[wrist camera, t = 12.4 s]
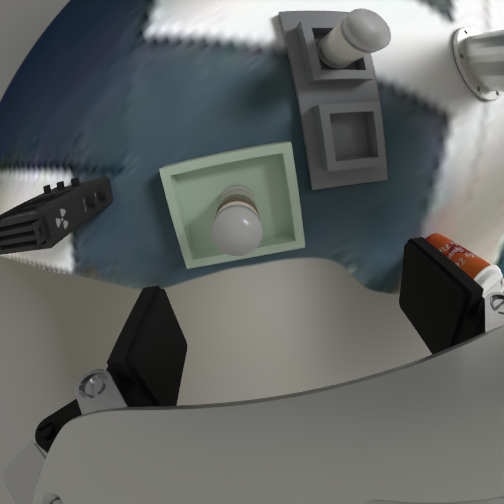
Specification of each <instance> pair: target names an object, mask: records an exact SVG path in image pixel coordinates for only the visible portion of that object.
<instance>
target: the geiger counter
mask: <svg viewBox="0 0 504 504" xmlns="http://www.w3.org/2000/svg"><path fill="white" fill-rule="evenodd" d="M71 183H72V185H70V186H66V187H64V182H63V181H62V182H58V183H57V187H56V188H54V189H51V188H50V185H47V186H44V187H43V188H44V193H43V194H41V195H38V196H36V197H34V198H32V199H30V200H28V201H26V202H24V203H22V204H20V205H18V206H16V207H14V208H12V209H11V210H9V211H7V212H5V213H3V214H1V215H0V255H1V254H8V253H16V252H23V251H31V250H39V249H47V248H52V247H53V246H54V245H56V244H57V243H58V242H59V241H61V240H62V239H63V238H64V237H66V236H67V235H68V234H70V233H71V232H72V231H73V230H75V229H76V228H77V227H79V226H80V225H82V224H83V223H84V222H86V221H87V220H88V219H90V218H91V217H93V216H94V215H95V214H97V213H98V212H100V211H101V210H102V209H104V208H105V207H107V206H108V205H110V204H111V202H112V201H113V197H112V192H111V186H110V180H109V178H108V177H106V176H103V177H101V178H98V179H96V180H93V181H88V182H84V183H79V179H78V178H74V179H71Z"/></svg>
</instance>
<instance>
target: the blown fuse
mask: <svg viewBox="0 0 504 504" xmlns="http://www.w3.org/2000/svg"><path fill="white" fill-rule="evenodd" d="M212 238H213V241H214V243H215V245H216V246H217V248H218V249H219V250H221V251H222V252H223V253H225V254H227V255H231V256H244V255H247V254H249V253H251V252H252V251H254V250H255V249H256V248H257V247H258V245H259V244H260V242H261V239H262V227H261V222H260V218H259V214H258V210H257V206H256V201H255V197H254V194H253V193H252V191H251V190H250V189H248V188H247V187H245V186H242V185H233V186H230V187H228V188H227V189H225V190H224V191H223V193H222V194H221V197H220V200H219V206H218V208H217V212H216V216H215V220H214V224H213V228H212Z"/></svg>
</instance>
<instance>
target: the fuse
mask: <svg viewBox="0 0 504 504" xmlns="http://www.w3.org/2000/svg"><path fill="white" fill-rule="evenodd" d="M390 39H391V33H390V29H389V27H388V25H387V23H386V22H385V21H384V20H383V18H382V17H380V16H379V15H378V14H376V13H375V12H373V11H370V10H367V9H355V10H353V11H351V12H350V13H349V14H348V15H347V16H346V17H345V18H344V19H343V20H342V21H341V22H340V23H339V24H338V25H337V26H336V27H335V28H334V29H332V30H331V31H330V32H329V33H328V34H327V35H326V36H325V37H324V38H322V39H321V40H320V41H319V42H318V43H317V45H316V48H317V52H318V57H319V61H320V63H321V64H322V65H324V66H325V67H327V68H330V69H341V68H343V67H345V66H347V65H349V64H350V63H352V62H354V61H356V60H358V59H360V58H362V57H364V56H366V55H368V54H370V53H373V52H376V51H378V50H381V49H383V48H385V47H386V46H387V45H388V44H389V42H390Z"/></svg>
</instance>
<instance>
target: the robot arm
mask: <svg viewBox="0 0 504 504" xmlns="http://www.w3.org/2000/svg"><path fill="white" fill-rule="evenodd" d="M453 49H454V55H455V59H456V63H457V66H458V68H459V70H460V73H461V75H462V77H463V78H464V80H465V82H466V83H467V85H468V86H469V88H470V89H471V90H472V91H473V92H474V93H475V94H476V95H477V96H479V97H480V98H482V99H484V100H490V101H492V100H496V99H498V98H499V97H500V96H501V94H502V92H504V30H500V31H494V32H487V33H481V32H479V31H478V30H476V29H474V28H471V27H463V28H460V29H459V30H457V32H456V33H455V36H454V40H453ZM483 291H484V289H483V288H482V287H481V286H480V285H479V284H478V283H477V282H476V281H475V280H474V279H472V278H471V277H470V276H469V275H468V274H467V273H466V272H465V271H463V270H462V269H461V268H460V267H459V266H458V265H456V264H455V263H454V262H453V261H452V260H450V259H449V258H448V257H447V256H446V255H444V254H443V253H442V252H441V251H439V250H438V249H437V248H436V247H434V246H433V245H432V244H431V243H429V242H428V241H427V240H425V239H424V238H423V237H419V238H414V239H409V240H408V242H407V244H405V246H404V258H403V270H402V280H401V289H400V298H399V304H400V307H401V309H402V311H403V312H404V313H405V315H406V316H407V318H408V319H409V320H410V322H411V323H412V325H413V326H414V328H415V329H416V330H417V332H418V333H419V335H420V336H421V338H422V339H423V341H424V342H425V344H426V345H427V347H428V348H429V350H430V351H431V353H432V354H433V355H430V356H427V357H425V358H422V359H420V360H417V361H414V362H411V363H408V364H405V365H402V366H399V367H396V368H393V369H390V370H387V371H384V372H380V373H377V374H374V375H370V376H367V377H363V378H359V379H356V380H352V381H348V382H344V383H340V384H336V385H332V386H327V387H323V388H318V389H313V390H308V391H303V392H298V393H293V394H287V395H281V396H274V397H269V398H261V399H254V400H246V401H237V402H227V403H215V404H201V405H185V406H176V405H177V399H178V394H179V388H180V383H181V378H182V372H183V367H184V362H185V357H186V352H187V342H186V339H185V337H184V335H183V333H182V330H181V328H180V326H179V323H178V321H177V319H176V316H175V314H174V312H173V309H172V307H171V304H170V302H169V299H168V297H167V294H166V292H165V290H164V289H160V287H159V286H153V287H147V288H143V290H142V292H141V294H140V296H139V297H138V299H137V301H136V303H135V305H134V307H133V309H132V311H131V313H130V315H129V317H128V319H127V321H126V323H125V325H124V327H123V329H122V331H121V333H120V335H119V337H118V339H117V342H116V344H115V346H114V348H113V350H112V353H111V354H110V357H109V359H108V361H107V364H108V368H107V370H103V369H96V370H92V371H90V372H88V373H86V374H85V375H84V376H83V377H82V378H81V379H80V380H79V381H78V383H77V385H76V389H75V394H76V398H77V399H75V400H74V401H72V402H71V403H69V404H67V405H66V406H64V407H63V408H61V409H60V410H58V411H57V412H55V413H53V414H52V415H50V416H49V417H47V418H45V419H44V420H43V421H42V422H41V423H40V424H39V425H38V427H37V429H36V433H35V439H36V442H35V443H34V442H33V441H31V442H30V443H29V444H28V445H27V446H26V447H25V448H24V449H23V450H22V451H21V452H20V453H19V454H18V455H17V456H16V458H15V459H14V460H13V461H12V462H11V463H10V464H9V465H8V466H7V468H6V469H5V472H4V482H5V485H6V487H7V489H8V490H9V492H10V494H11V495H12V497H13V499H14V501H15V502H16V504H504V293H502V292H492V293H489V294H488V295H487V296H486V297H485V298H484V297H483V296H482V295H483Z"/></svg>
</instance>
